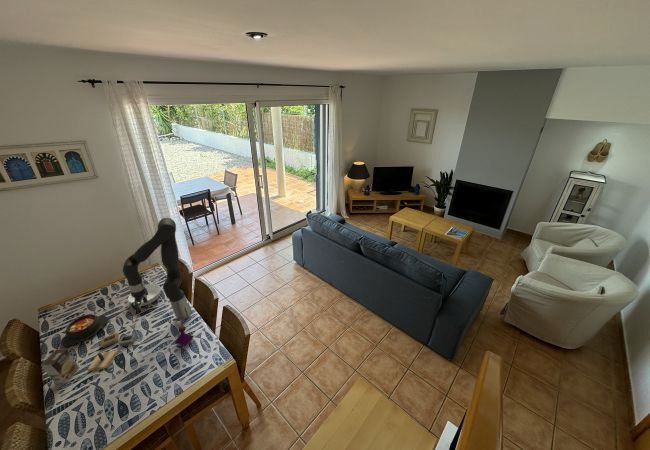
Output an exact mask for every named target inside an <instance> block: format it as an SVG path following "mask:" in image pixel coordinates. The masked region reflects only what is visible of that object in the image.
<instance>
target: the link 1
mask: <svg viewBox="0 0 650 450" xmlns="http://www.w3.org/2000/svg"><path fill="white" fill-rule="evenodd" d="M118 333H119V332H114V333H112V334H109V335H108V336H104V337H102V338H101V340H100V341H101V342H100V343H101V346H102V348H107V347H108V346H111V345H113V344H116V343H118V342H119V340H120V334H118Z"/></svg>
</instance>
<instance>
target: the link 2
mask: <svg viewBox="0 0 650 450" xmlns="http://www.w3.org/2000/svg"><path fill="white" fill-rule="evenodd" d="M137 340H138V335H137V334H136V333H134V334H125V335H121V337H120V338H119V342H117V344H118V347H123V346H126V347H127V346H130V345H132V346H133V345H134V344H135V342H136V341H137Z"/></svg>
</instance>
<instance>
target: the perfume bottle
mask: <svg viewBox="0 0 650 450" xmlns="http://www.w3.org/2000/svg"><path fill="white" fill-rule="evenodd" d="M174 325H175V326H178V330H177V331H178V332H179V336H178V337H177V338H176V341H175V342H174V343H176V344H178V345H179V346H183V347H187V346H188V344H190V343H191V341H192V339H193V337H194V335H191V334H190V333H186V332H185V331H186V329H187V328H186V326H184V325H182V322H181V320H177V321H176V322H175V323H174Z"/></svg>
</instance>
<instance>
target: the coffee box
mask: <svg viewBox="0 0 650 450" xmlns="http://www.w3.org/2000/svg"><path fill="white" fill-rule="evenodd" d="M40 366H41V368H42V369H43V370H44V372H45V373H46V374H47V375H48V376H49V377H50V379H51V380H52V381H53V383H54V384H56V385H58V384H66V383H68V382H69V381H70V379H72V378H73V376H74V375H75V373H77V371H78V370H79V369H80V366H79V364H78V363H77V361H76V360H75V359H74V358H73V355H72V354H71V353H70V352H69V350H68V349H67V348H66V349H64V348H63V349H55V350H53V352H52V353H51V354H50V355H49V356H48V357H47V358H46V359H45V360H44V361H43V362H42V363H41V364H40Z"/></svg>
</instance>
